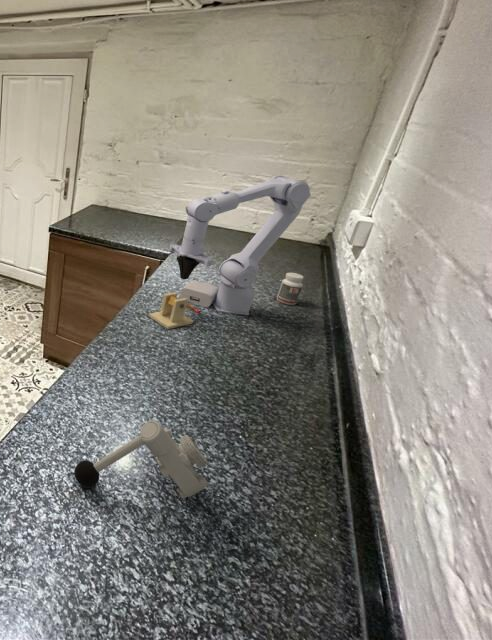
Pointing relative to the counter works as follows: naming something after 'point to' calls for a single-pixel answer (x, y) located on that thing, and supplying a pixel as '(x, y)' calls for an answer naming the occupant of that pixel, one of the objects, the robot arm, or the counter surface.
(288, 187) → the robot arm
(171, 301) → the lever
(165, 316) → the bracket
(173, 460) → the valve
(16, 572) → the counter surface
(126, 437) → the counter surface
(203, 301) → the charger
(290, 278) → the pill bottle
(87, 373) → the counter surface
